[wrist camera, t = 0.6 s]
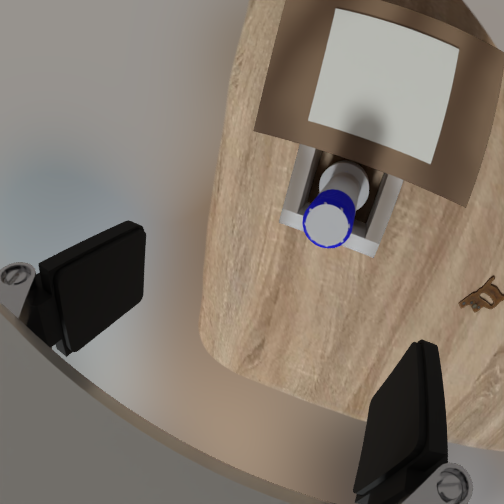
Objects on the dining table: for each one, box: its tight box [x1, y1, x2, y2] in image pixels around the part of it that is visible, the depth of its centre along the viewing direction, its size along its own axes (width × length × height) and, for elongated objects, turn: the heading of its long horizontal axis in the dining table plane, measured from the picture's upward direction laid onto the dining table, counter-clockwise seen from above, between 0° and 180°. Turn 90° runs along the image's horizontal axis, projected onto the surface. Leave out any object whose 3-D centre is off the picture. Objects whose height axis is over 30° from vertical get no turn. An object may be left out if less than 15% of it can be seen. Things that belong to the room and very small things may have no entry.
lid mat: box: [308, 8, 459, 164], centre depth 19 cm, size 10×10×1 cm
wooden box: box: [254, 0, 504, 258], centre depth 25 cm, size 18×22×9 cm
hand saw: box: [458, 276, 504, 312], centre depth 34 cm, size 24×5×1 cm, turn 138°
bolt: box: [302, 160, 369, 248], centre depth 25 cm, size 16×5×5 cm
